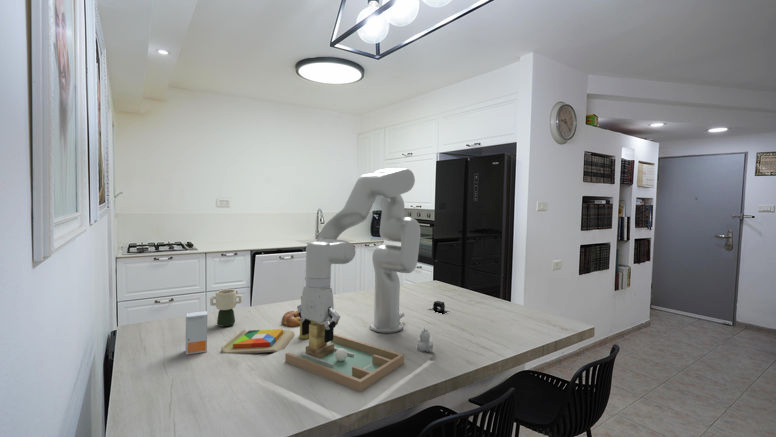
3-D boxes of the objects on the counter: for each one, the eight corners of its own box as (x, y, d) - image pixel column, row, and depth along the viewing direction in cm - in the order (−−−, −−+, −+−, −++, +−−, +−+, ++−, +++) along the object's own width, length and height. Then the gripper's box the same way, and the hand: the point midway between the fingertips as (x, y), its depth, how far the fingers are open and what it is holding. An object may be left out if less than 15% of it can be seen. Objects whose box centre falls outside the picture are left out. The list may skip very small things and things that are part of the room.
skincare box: (185, 355, 111) (185, 316, 111) (185, 350, 115) (185, 312, 115) (207, 352, 114) (207, 314, 114) (207, 347, 118) (207, 310, 117)
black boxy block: (455, 313, 160) (455, 303, 160) (445, 317, 155) (445, 306, 154) (432, 307, 168) (432, 297, 168) (422, 310, 163) (422, 300, 163)
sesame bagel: (305, 328, 138) (305, 318, 137) (276, 327, 138) (276, 318, 138) (312, 317, 150) (312, 309, 149) (286, 317, 150) (286, 308, 150)
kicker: (320, 346, 116) (320, 319, 116) (334, 351, 113) (334, 322, 113) (303, 354, 111) (303, 324, 110) (317, 359, 107) (317, 329, 107)
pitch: (333, 344, 122) (333, 333, 122) (403, 366, 106) (404, 354, 106) (285, 365, 106) (285, 353, 106) (360, 396, 90) (360, 382, 90)
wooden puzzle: (243, 334, 131) (243, 324, 131) (295, 335, 130) (295, 326, 130) (219, 354, 114) (219, 343, 114) (279, 356, 113) (279, 345, 113)
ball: (340, 357, 109) (340, 345, 109) (349, 360, 107) (349, 348, 107) (332, 361, 106) (332, 349, 106) (341, 364, 104) (341, 352, 104)
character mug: (241, 320, 144) (241, 288, 144) (241, 326, 138) (241, 292, 137) (210, 323, 140) (210, 290, 139) (209, 329, 133) (209, 294, 133)
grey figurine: (425, 347, 121) (425, 323, 121) (438, 354, 116) (439, 329, 115) (412, 350, 118) (413, 326, 118) (425, 358, 113) (426, 332, 112)
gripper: (289, 280, 113) (288, 334, 114) (330, 288, 103) (329, 348, 104) (307, 276, 119) (306, 328, 120) (347, 284, 109) (346, 340, 110)
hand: (317, 337), depth 112 cm, fingers open, 9 cm apart
